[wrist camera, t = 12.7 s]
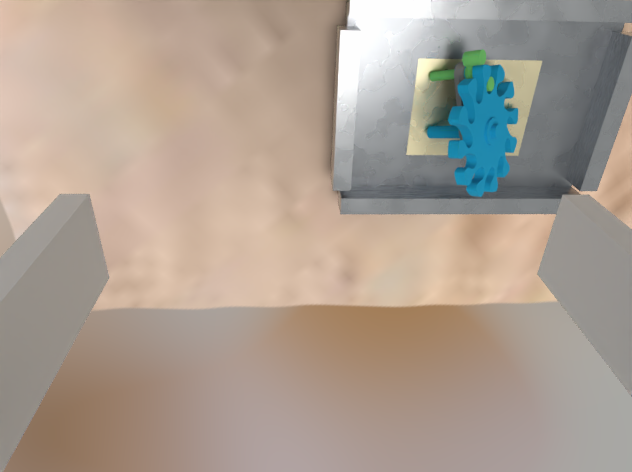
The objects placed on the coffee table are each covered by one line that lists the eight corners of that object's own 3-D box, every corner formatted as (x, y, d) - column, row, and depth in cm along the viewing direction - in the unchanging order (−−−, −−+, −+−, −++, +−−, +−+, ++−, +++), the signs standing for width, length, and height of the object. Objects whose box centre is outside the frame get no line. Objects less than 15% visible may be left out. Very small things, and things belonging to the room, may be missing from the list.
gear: (527, 172, 41) (471, 217, 35) (464, 169, 45) (404, 209, 39) (523, 35, 37) (458, 60, 31) (453, 46, 41) (384, 69, 35)
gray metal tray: (337, -10, 36) (342, -6, 33) (629, -2, 37) (664, 2, 34) (328, 194, 45) (331, 214, 41) (566, 194, 46) (588, 213, 43)
